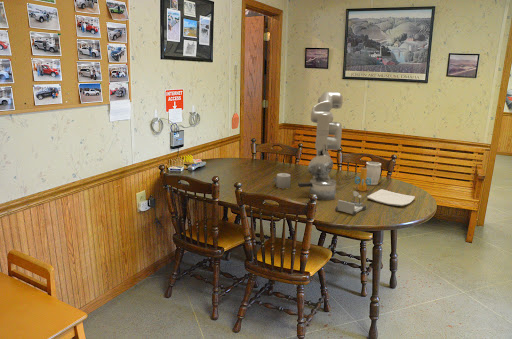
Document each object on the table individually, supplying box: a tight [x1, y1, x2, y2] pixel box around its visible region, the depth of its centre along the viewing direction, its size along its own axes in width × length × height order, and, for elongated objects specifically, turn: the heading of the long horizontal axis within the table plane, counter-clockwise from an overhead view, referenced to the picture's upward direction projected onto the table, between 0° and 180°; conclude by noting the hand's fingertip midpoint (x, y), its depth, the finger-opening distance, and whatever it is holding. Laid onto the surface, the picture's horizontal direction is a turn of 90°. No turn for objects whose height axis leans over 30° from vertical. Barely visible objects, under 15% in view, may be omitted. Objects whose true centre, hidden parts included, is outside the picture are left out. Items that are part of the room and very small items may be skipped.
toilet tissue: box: [272, 172, 291, 190], centre depth 276 cm, size 9×13×9 cm
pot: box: [297, 177, 337, 201], centre depth 258 cm, size 16×24×10 cm
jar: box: [365, 161, 382, 186], centre depth 289 cm, size 11×10×15 cm
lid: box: [308, 155, 334, 178], centre depth 262 cm, size 17×16×4 cm
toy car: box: [335, 190, 367, 217], centre depth 236 cm, size 18×10×12 cm
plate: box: [366, 188, 416, 207], centre depth 256 cm, size 24×24×3 cm
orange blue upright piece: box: [354, 167, 371, 192], centre depth 274 cm, size 12×10×15 cm
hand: (320, 161), depth 261 cm, fingers closed
